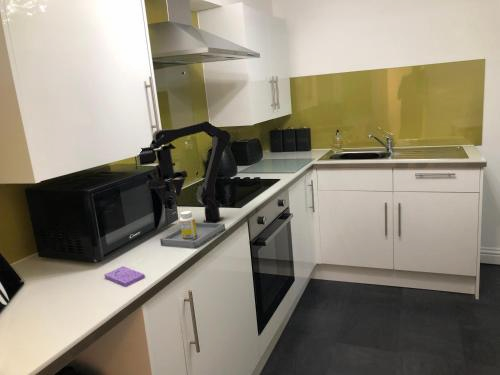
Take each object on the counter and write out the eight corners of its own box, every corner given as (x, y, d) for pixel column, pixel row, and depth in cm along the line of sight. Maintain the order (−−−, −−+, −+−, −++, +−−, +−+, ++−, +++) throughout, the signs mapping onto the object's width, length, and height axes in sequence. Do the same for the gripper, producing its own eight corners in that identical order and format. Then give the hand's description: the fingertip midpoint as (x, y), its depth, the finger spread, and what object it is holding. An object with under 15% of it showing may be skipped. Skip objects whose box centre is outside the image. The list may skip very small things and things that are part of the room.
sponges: (124, 271, 135) (123, 265, 134) (146, 279, 126) (145, 273, 126) (104, 279, 130) (103, 274, 129) (126, 288, 121) (124, 282, 121)
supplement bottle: (193, 234, 158) (189, 209, 155) (200, 238, 153) (196, 211, 151) (180, 239, 155) (176, 213, 153) (186, 242, 150) (182, 215, 148)
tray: (192, 227, 170) (191, 222, 170) (225, 229, 163) (224, 223, 162) (161, 245, 153) (160, 239, 153) (196, 248, 145) (195, 241, 145)
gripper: (164, 157, 176) (170, 193, 179) (133, 166, 160) (140, 205, 163) (185, 157, 171) (190, 193, 174) (155, 165, 155) (162, 205, 158)
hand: (171, 199), depth 168 cm, fingers open, 9 cm apart
